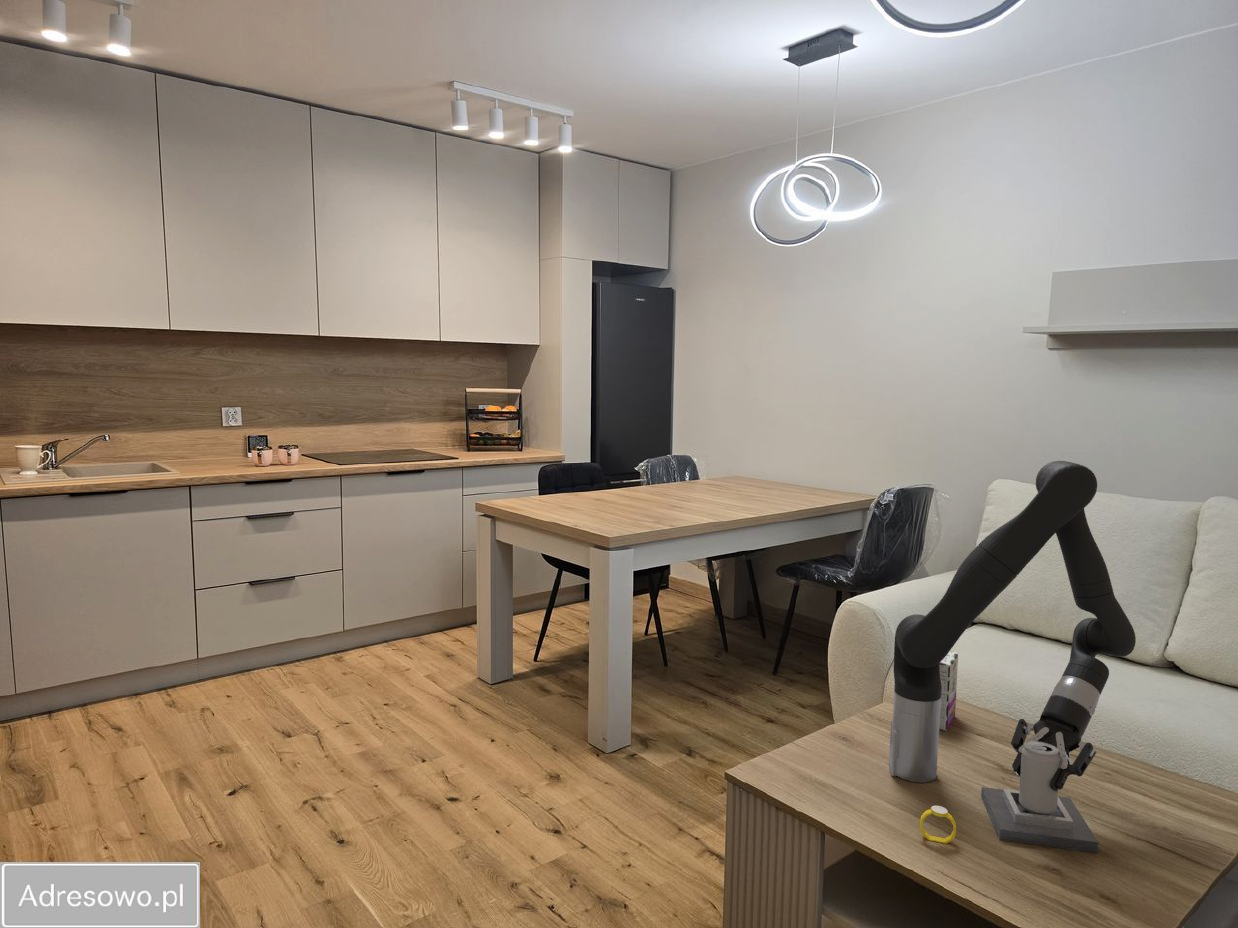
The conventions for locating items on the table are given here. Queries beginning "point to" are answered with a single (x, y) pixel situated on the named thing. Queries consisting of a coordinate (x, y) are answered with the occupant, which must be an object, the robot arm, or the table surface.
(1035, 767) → the beverage can
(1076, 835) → the mounting plate
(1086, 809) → the table surface
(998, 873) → the table surface
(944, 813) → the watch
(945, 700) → the candy bar box
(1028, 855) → the table surface
